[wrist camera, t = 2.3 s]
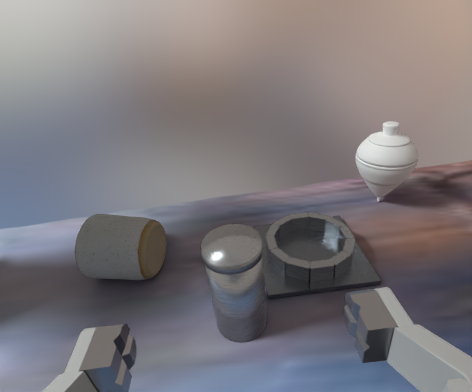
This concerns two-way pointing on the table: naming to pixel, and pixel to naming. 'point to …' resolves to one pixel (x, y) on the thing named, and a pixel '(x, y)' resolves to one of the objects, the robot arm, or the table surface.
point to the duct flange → (312, 256)
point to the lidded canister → (236, 280)
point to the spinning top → (386, 159)
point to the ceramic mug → (120, 247)
